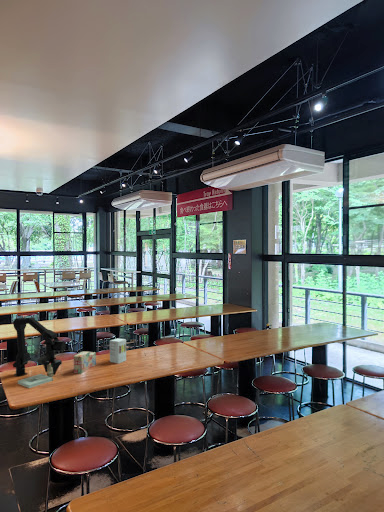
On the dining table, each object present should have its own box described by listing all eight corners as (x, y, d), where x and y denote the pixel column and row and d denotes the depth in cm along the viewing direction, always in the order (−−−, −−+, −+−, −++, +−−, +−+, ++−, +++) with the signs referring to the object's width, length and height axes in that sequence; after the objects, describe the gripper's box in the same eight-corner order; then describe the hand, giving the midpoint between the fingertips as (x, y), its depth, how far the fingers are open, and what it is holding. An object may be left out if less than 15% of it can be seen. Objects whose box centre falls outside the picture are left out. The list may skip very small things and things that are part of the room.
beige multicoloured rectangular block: (88, 364, 265) (88, 348, 265) (96, 364, 263) (96, 348, 264) (73, 373, 244) (73, 355, 244) (81, 373, 242) (81, 356, 243)
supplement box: (118, 363, 264) (118, 341, 264) (109, 362, 269) (109, 340, 269) (126, 360, 272) (126, 339, 273) (117, 358, 277) (117, 337, 277)
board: (17, 383, 224) (17, 380, 224) (41, 376, 237) (41, 373, 237) (29, 388, 216) (29, 385, 216) (52, 380, 229) (52, 377, 229)
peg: (45, 376, 237) (45, 365, 237) (51, 375, 240) (51, 363, 241) (49, 377, 235) (49, 366, 235) (55, 376, 238) (54, 364, 238)
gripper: (31, 351, 237) (31, 374, 237) (46, 355, 226) (47, 379, 226) (46, 347, 246) (47, 369, 246) (62, 351, 235) (62, 374, 235)
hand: (50, 373), depth 238 cm, fingers open, 9 cm apart
